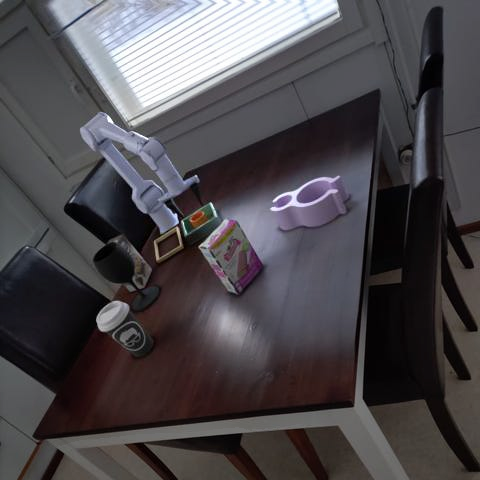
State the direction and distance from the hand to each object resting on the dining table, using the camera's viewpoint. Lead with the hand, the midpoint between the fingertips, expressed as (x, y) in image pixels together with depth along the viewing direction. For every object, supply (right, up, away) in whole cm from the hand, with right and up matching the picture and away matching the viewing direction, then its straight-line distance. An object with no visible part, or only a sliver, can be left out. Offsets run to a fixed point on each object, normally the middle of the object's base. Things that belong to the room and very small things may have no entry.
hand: (192, 210), depth 151 cm
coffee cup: (-11, -44, -26) cm, 52 cm away
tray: (-9, -11, +8) cm, 16 cm away
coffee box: (-17, -23, +1) cm, 29 cm away
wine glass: (-14, -30, -8) cm, 34 cm away
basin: (+4, -5, +5) cm, 8 cm away
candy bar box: (+18, -26, -28) cm, 42 cm away
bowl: (+3, -5, +4) cm, 7 cm away
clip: (+37, -7, -23) cm, 44 cm away
